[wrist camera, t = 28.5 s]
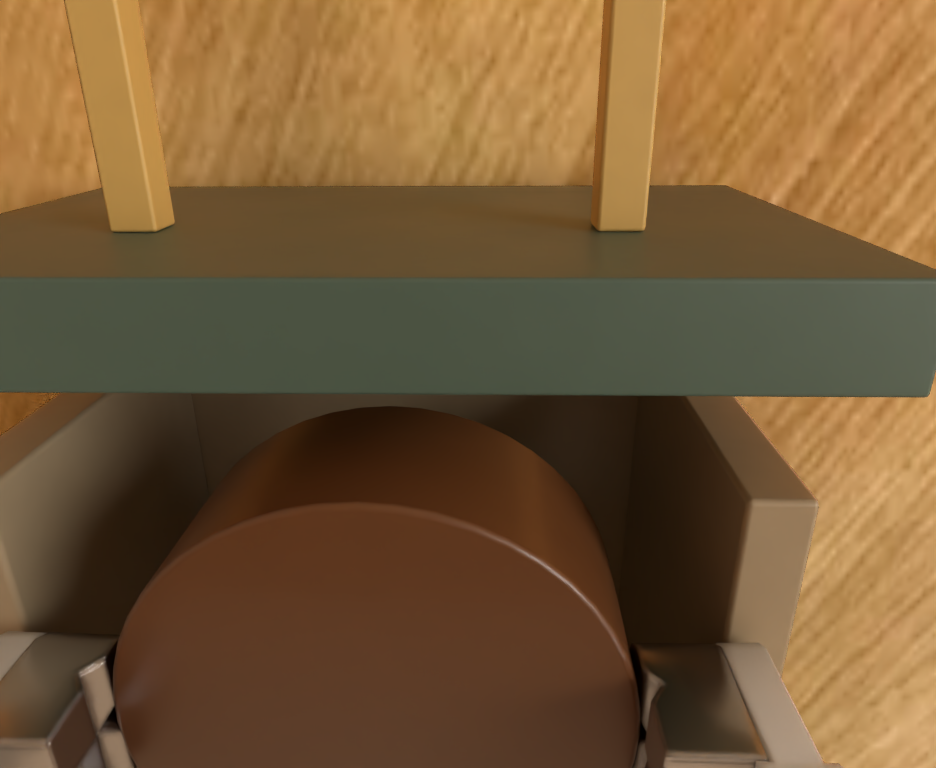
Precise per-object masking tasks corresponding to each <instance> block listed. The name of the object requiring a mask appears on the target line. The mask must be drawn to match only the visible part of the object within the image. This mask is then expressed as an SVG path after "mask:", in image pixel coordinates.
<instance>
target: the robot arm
mask: <svg viewBox="0 0 936 768" xmlns="http://www.w3.org/2000/svg"><path fill="white" fill-rule="evenodd" d="M119 637H120V635H116V634H92V633H68V632H47V633H41V632H21V631H8V632H5V633H3V634H1V635H0V768H137V766H136V764H135V762H134V761H133V759H132V757H131V755H130V753H129V751H128V749H127V746H126V742H125V739H124V736H123V732H122V731H121V730H120V728H119V725H118V722H117V716H116V711H115V701H114V696H113V666H114V660H115V655H116V649H117V643H118V639H119ZM629 650H630V654H631V658H632V663H633V667H634V671H635V675H636V680H637V685H638V692H639V699H640V737H639V741H638V745H637V750H636V755H635V760H634V763H633V766H632V768H844V767H842V766H841V765H840V764H835V763H824V761H823V760H822V758H821V756H820V754H819V752H818V750H817V748H816V746H815V744H814V742H813V740H812V738H811V736H810V734H809V732H808V730H807V728H806V726H805V724H804V722H803V720H802V718H801V716H800V714H799V712H798V710H797V708H796V706H795V704H794V702H793V700H792V698H791V696H790V694H789V692H788V690H787V688H786V687H785V685H784V683H783V681H782V679H781V677H780V675H779V673H778V671H777V669H776V667H775V665H774V663H773V661H772V659H771V657H770V655H769V653H768V651H767V649H766V648H765V647H764V646H762V645H761V644H760V643H716V644H713V643H631V645H630V648H629Z"/></svg>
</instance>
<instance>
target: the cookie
mask: <svg viewBox="0 0 936 768" xmlns="http://www.w3.org/2000/svg"><path fill="white" fill-rule="evenodd" d="M113 696H114V701H115V711H116V716H117V722H118V725H119V728H120V730H121V731H122V732H123V736H124V739H125V742H126V746H127V749H128V751H129V753H130V755H131V757H132V759H133V761H134V762H135V764H136V766H137V768H632V766H633V763H634V760H635V755H636V750H637V745H638V741H639V737H640V699H639V692H638V685H637V680H636V675H635V671H634V667H633V663H632V658H631V654H630V650H629V645H628V641H627V637H626V633H625V628H624V624H623V620H622V616H621V611H620V607H619V603H618V599H617V594H616V590H615V586H614V581H613V577H612V573H611V569H610V564H609V560H608V556H607V553H606V550H605V546H604V543H603V540H602V537H601V534H600V532H599V530H598V528H597V526H596V524H595V522H594V520H593V518H592V516H591V514H590V512H589V510H588V509H587V507H586V506H585V504H584V503H583V502H582V500H581V499H580V497H579V496H578V494H577V493H576V492H575V490H574V489H573V488H572V487H571V486H570V485H569V484H568V482H567V481H566V480H565V479H564V478H563V477H562V476H561V475H560V474H559V473H558V472H557V471H556V470H555V469H554V468H553V467H552V466H550V465H549V464H548V463H547V462H545V461H544V460H543V459H542V458H541V457H539V456H538V455H537V454H536V453H534V452H533V451H532V450H530V449H528V448H527V447H525V446H523V445H522V444H520V443H519V442H517V441H515V440H514V439H512V438H511V437H509V436H507V435H505V434H503V433H501V432H499V431H496V430H494V429H492V428H490V427H488V426H485V425H483V424H481V423H478V422H475V421H472V420H469V419H466V418H463V417H460V416H456V415H453V414H449V413H444V412H439V411H434V410H429V409H423V408H413V407H399V406H380V407H361V408H355V409H349V410H343V411H337V412H332V413H328V414H325V415H321V416H318V417H315V418H312V419H308V420H305V421H302V422H300V423H298V424H296V425H293V426H291V427H289V428H287V429H285V430H283V431H280V432H278V433H276V434H275V435H273V436H272V437H270V438H269V439H267V440H266V441H264V442H262V443H261V444H259V445H258V446H256V447H255V448H254V449H252V450H251V451H250V452H249V453H248V454H247V455H245V456H244V457H243V458H242V459H241V460H240V461H239V462H237V463H236V464H235V465H234V466H233V468H232V469H231V470H230V471H229V472H228V474H227V475H226V476H225V477H224V478H223V480H222V481H221V482H220V483H219V484H218V486H217V487H216V489H215V490H214V491H213V493H212V494H211V496H210V497H209V498H208V500H207V501H206V503H205V504H204V505H203V507H202V508H201V510H200V511H199V512H198V514H197V515H196V517H195V518H194V519H193V521H192V522H191V524H190V525H189V526H188V528H187V529H186V531H185V532H184V533H183V535H182V536H181V537H180V539H179V540H178V542H177V543H176V544H175V546H174V547H173V549H172V550H171V551H170V553H169V554H168V556H167V557H166V558H165V560H164V561H163V563H162V564H161V565H160V567H159V568H158V570H157V571H156V572H155V574H154V575H153V577H152V578H151V579H150V581H149V582H148V584H147V585H146V586H145V588H144V589H143V591H142V592H141V594H140V595H139V597H138V599H137V600H136V602H135V604H134V605H133V607H132V609H131V610H130V612H129V614H128V616H127V618H126V621H125V623H124V626H123V629H122V631H121V634H120V637H119V639H118V643H117V649H116V655H115V660H114V666H113Z"/></svg>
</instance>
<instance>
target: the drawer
mask: <svg viewBox="0 0 936 768" xmlns="http://www.w3.org/2000/svg"><path fill="white" fill-rule="evenodd" d="M64 4H65V9H66V14H67V18H68V23H69V28H70V33H71V38H72V43H73V48H74V53H75V58H76V63H77V68H78V73H79V78H80V83H81V88H82V93H83V98H84V103H85V108H86V112H87V117H88V122H89V127H90V132H91V137H92V142H93V147H94V152H95V157H96V162H97V167H98V172H99V177H100V182H101V187H102V188H100V189H96V190H92V191H88V192H84V193H80V194H76V195H73V196H69V197H65V198H61V199H57V200H53V201H49V202H45V203H41V204H37V205H33V206H29V207H25V208H21V209H17V210H13V211H9V212H5V213H1V214H0V392H30V393H60V394H58V395H57V396H56V397H54V398H53V399H51V400H50V401H49V402H47V403H46V404H44V405H43V406H41V407H40V408H39V409H37V410H36V411H34V412H33V413H32V414H30V415H29V416H27V417H26V418H24V419H23V420H22V421H20V422H19V423H17V424H16V425H15V426H13V427H12V428H10V429H9V430H8V431H6V432H5V433H3V434H2V435H0V635H1V634H3V633H5V632H8V631H21V632H41V633H47V632H68V633H92V634H116V635H120V634H121V631H122V629H123V626H124V623H125V621H126V618H127V616H128V614H129V612H130V610H131V609H132V607H133V605H134V604H135V602H136V600H137V599H138V597H139V595H140V594H141V592H142V591H143V589H144V588H145V586H146V585H147V584H148V582H149V581H150V579H151V578H152V577H153V575H154V574H155V572H156V571H157V570H158V568H159V567H160V565H161V564H162V563H163V561H164V560H165V558H166V557H167V556H168V554H169V553H170V551H171V550H172V549H173V547H174V546H175V544H176V543H177V542H178V540H179V539H180V537H181V536H182V535H183V533H184V532H185V531H186V529H187V528H188V526H189V525H190V524H191V522H192V521H193V519H194V518H195V517H196V515H197V514H198V512H199V511H200V510H201V508H202V507H203V505H204V504H205V503H206V501H207V500H208V498H209V497H210V496H211V494H212V493H213V491H214V490H215V489H216V487H217V486H218V484H219V483H220V482H221V481H222V480H223V478H224V477H225V476H226V475H227V474H228V472H229V471H230V470H231V469H232V468H233V466H234V465H235V464H236V463H237V462H239V461H240V460H241V459H242V458H243V457H244V456H245V455H247V454H248V453H249V452H250V451H251V450H252V449H254V448H255V447H256V446H258V445H259V444H261V443H262V442H264V441H266V440H267V439H269V438H270V437H272V436H273V435H275V434H276V433H278V432H280V431H283V430H285V429H287V428H289V427H291V426H293V425H296V424H298V423H300V422H302V421H305V420H308V419H312V418H315V417H318V416H321V415H325V414H328V413H332V412H337V411H343V410H349V409H355V408H361V407H380V406H399V407H413V408H423V409H429V410H434V411H439V412H444V413H449V414H453V415H456V416H460V417H463V418H466V419H469V420H472V421H475V422H478V423H481V424H483V425H485V426H488V427H490V428H492V429H494V430H496V431H499V432H501V433H503V434H505V435H507V436H509V437H511V438H512V439H514V440H515V441H517V442H519V443H520V444H522V445H523V446H525V447H527V448H528V449H530V450H532V451H533V452H534V453H536V454H537V455H538V456H539V457H541V458H542V459H543V460H544V461H545V462H547V463H548V464H549V465H550V466H552V467H553V468H554V469H555V470H556V471H557V472H558V473H559V474H560V475H561V476H562V477H563V478H564V479H565V480H566V481H567V482H568V484H569V485H570V486H571V487H572V488H573V489H574V490H575V492H576V493H577V494H578V496H579V497H580V499H581V500H582V502H583V503H584V504H585V506H586V507H587V509H588V510H589V512H590V514H591V516H592V518H593V520H594V522H595V524H596V526H597V528H598V530H599V532H600V534H601V537H602V540H603V543H604V546H605V550H606V553H607V556H608V560H609V564H610V569H611V573H612V577H613V581H614V586H615V590H616V594H617V599H618V603H619V607H620V611H621V616H622V620H623V624H624V628H625V633H626V637H627V641H628V645H629V648H630V645H631V643H713V644H716V643H760V644H761V645H762V646H764V647H765V648H766V649H767V651H768V653H769V655H770V657H771V659H772V661H773V663H774V665H775V667H776V669H777V671H778V673H779V675H780V677H781V676H782V672H783V667H784V663H785V658H786V654H787V649H788V645H789V640H790V636H791V631H792V626H793V622H794V617H795V613H796V608H797V604H798V599H799V595H800V590H801V586H802V581H803V576H804V572H805V567H806V563H807V558H808V554H809V549H810V545H811V540H812V536H813V531H814V526H815V522H816V517H817V513H818V508H819V504H818V500H817V499H816V497H815V496H814V495H813V494H812V492H811V491H810V490H809V489H808V487H807V486H806V485H805V484H804V483H803V481H802V480H801V479H800V478H799V476H798V475H797V474H796V473H795V471H794V470H793V469H792V468H791V466H790V465H789V464H788V463H787V461H786V460H785V459H784V458H783V456H782V455H781V454H780V453H779V451H778V450H777V449H776V448H775V446H774V445H773V444H772V443H771V441H770V440H769V439H768V438H767V436H766V435H765V434H764V433H763V431H762V430H761V429H760V428H759V427H758V425H757V424H756V423H755V422H754V420H753V419H752V418H751V417H750V415H749V414H748V413H747V412H746V410H745V409H744V408H743V407H742V405H741V404H740V403H739V402H738V400H737V399H736V398H735V397H734V396H771V397H927V396H928V395H929V394H930V390H931V387H932V383H933V379H934V376H935V372H936V270H935V269H933V268H930V267H928V266H925V265H923V264H920V263H918V262H915V261H913V260H910V259H908V258H905V257H903V256H900V255H898V254H895V253H893V252H890V251H888V250H886V249H883V248H881V247H878V246H876V245H873V244H871V243H868V242H866V241H863V240H861V239H858V238H856V237H853V236H851V235H848V234H846V233H843V232H841V231H838V230H836V229H833V228H831V227H828V226H826V225H823V224H821V223H818V222H816V221H813V220H811V219H808V218H806V217H803V216H801V215H798V214H796V213H793V212H791V211H788V210H786V209H783V208H781V207H778V206H776V205H773V204H771V203H768V202H766V201H763V200H761V199H758V198H756V197H753V196H751V195H748V194H746V193H743V192H741V191H738V190H736V189H733V188H731V187H728V186H726V185H699V186H649V184H650V173H651V162H652V151H653V140H654V129H655V118H656V107H657V96H658V85H659V74H660V64H661V53H662V42H663V31H664V20H665V9H666V0H604V9H603V25H602V42H601V58H600V74H599V91H598V107H597V124H596V140H595V156H594V173H593V186H330V187H169V184H168V178H167V172H166V166H165V159H164V153H163V147H162V141H161V135H160V129H159V123H158V117H157V111H156V105H155V99H154V93H153V87H152V81H151V75H150V69H149V63H148V57H147V51H146V45H145V39H144V33H143V27H142V21H141V15H140V9H139V3H138V0H64Z"/></svg>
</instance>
